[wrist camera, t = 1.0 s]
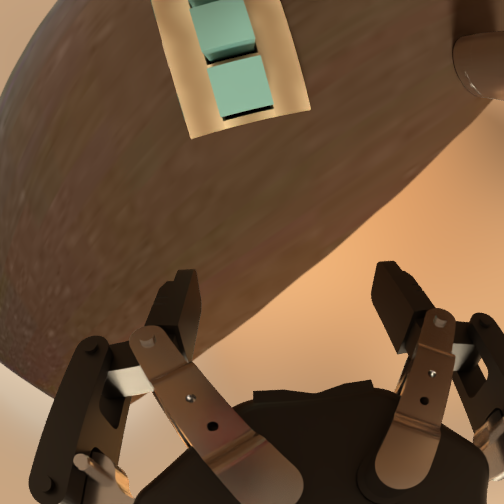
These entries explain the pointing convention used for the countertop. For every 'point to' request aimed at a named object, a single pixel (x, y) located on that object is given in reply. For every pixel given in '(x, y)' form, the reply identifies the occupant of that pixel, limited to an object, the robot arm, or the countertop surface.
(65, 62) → the countertop surface
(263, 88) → the button
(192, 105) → the button board
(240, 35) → the button middle
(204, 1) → the button
